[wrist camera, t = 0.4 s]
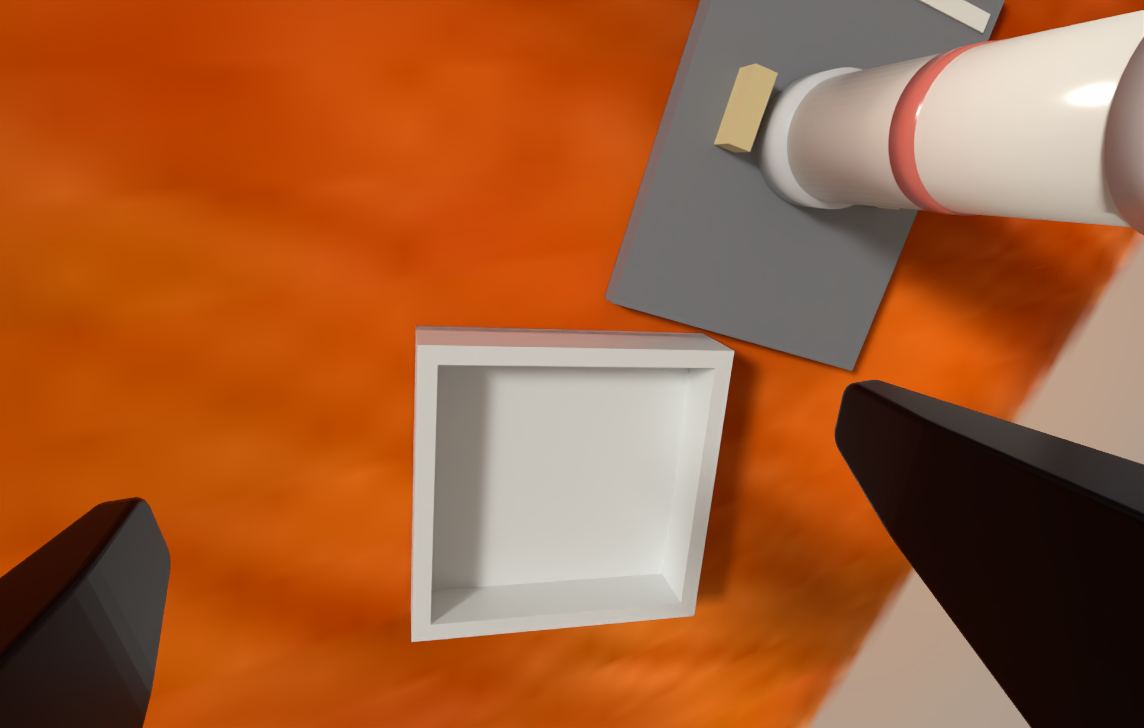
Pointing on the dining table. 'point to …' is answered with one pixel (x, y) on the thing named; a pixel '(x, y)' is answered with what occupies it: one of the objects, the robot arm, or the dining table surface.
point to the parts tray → (560, 476)
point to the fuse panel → (741, 196)
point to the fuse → (973, 130)
